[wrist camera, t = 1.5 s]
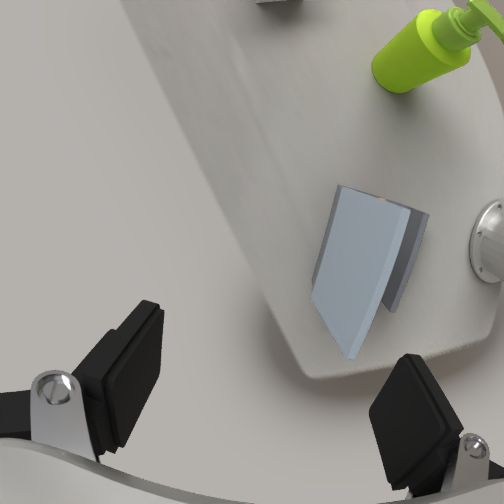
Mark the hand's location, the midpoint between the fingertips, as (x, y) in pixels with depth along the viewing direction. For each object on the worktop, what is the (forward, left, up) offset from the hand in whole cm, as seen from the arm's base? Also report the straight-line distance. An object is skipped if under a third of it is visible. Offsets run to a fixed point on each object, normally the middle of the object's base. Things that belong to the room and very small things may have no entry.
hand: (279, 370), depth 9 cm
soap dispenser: (-11, -22, -26) cm, 36 cm away
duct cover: (-7, 0, -16) cm, 17 cm away
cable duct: (-11, 0, -26) cm, 28 cm away
